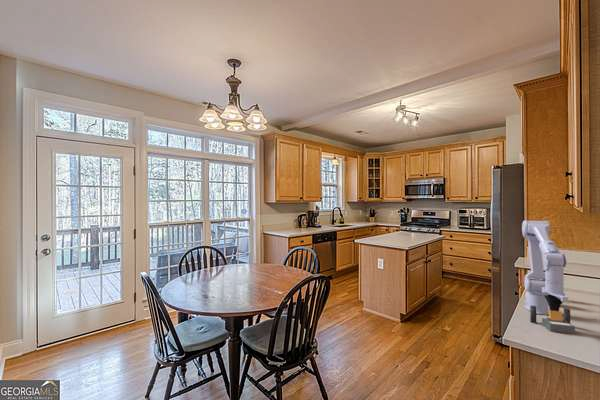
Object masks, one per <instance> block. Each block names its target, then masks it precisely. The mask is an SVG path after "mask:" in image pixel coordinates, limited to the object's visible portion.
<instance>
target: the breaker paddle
mask: <svg viewBox="0 0 600 400" xmlns="http://www.w3.org/2000/svg"><path fill="white" fill-rule="evenodd" d="M548 312H549V315H548V318H550V319H551V320H560V321H563V319H564V317H563V313H562V311H561V310H559V311H551V310H550V309H548Z"/></svg>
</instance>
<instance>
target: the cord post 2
mask: <svg viewBox="0 0 600 400" xmlns="http://www.w3.org/2000/svg"><path fill="white" fill-rule="evenodd" d="M563 319H565V320H566V321H567V322H568V323H570V324H571V309H570V308H563Z"/></svg>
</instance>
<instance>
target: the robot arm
mask: <svg viewBox="0 0 600 400" xmlns="http://www.w3.org/2000/svg"><path fill="white" fill-rule="evenodd" d="M521 230H522V231H521V232H522V237H523V238H525V239H526V240H527V244H528V254H529V264H530V272H528V273H527V274H525V275H524V281H523V282H524V283H523V286H524V289H525V291H526V293H525V305H523V307H524V308H525V309H526V310H528V311H529V312H530V306H531V305H532V306H536V315H545V316H546V315H547V316H549V312H548V310H551V311H560V308H561V306H562V304H563V303H569V297H568V296H567V295H566V294H565V292H564V291H565V290H564V288H565V286H564V282H565V281H564V280H565V279H563V277H564V268H565V267H566V266H567V258H566V255H565V253H563V252H562V251H560V250H559V248H558V247H557V245H556V243H555V242H554V241H553V240H551V239H550V235H549V234H550V231H551V222H549V221H548V220H526V219H525V220H523V221H522V223H521ZM548 304H549V305H548Z"/></svg>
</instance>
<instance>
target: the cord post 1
mask: <svg viewBox="0 0 600 400" xmlns="http://www.w3.org/2000/svg"><path fill="white" fill-rule="evenodd" d="M529 312H530V313H529V314H530V315H529V317H530V319H529V320H530V323H532V324H537V314H536V306H532V305H531V306H530V311H529Z"/></svg>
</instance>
